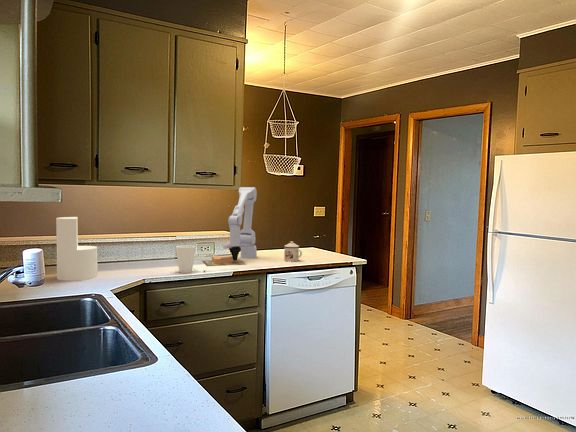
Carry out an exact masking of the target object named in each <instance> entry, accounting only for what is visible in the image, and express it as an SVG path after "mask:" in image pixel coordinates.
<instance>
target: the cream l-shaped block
mask: <svg viewBox="0 0 576 432" xmlns="http://www.w3.org/2000/svg"><path fill="white" fill-rule="evenodd" d="M78 219H79V218H78V216H62V217H61V216H60V217H56V219H55V220H56V221H55V223H56V225H55V227H56V229H55V230H56V238H55V239H56V279H57V280H59V281H63V282H64V281H66V282H67V281H69V282H70V281H71V282H72V281H74V282H75V281H85V280H92V279H96V278H97V277H98V274H99V273H98V271H99V270H98V246H96V245H79V232H78V231H79V229H78V226H79V225H78V224H79V223H78V221H79V220H78Z"/></svg>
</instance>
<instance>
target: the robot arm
mask: <svg viewBox="0 0 576 432" xmlns="http://www.w3.org/2000/svg"><path fill="white" fill-rule="evenodd" d="M257 191H258V190H257V188H256V187H255V186H252V187H251V186H250V187H249V186H246V187H245V186H244V187H243V186H240V187H239V188H238V196H239V197H238V202H237V205H235V206H234V209H233V210H232V213H231V215H230V216H228V219H227V223H228V228H229V244H223V249H226V250H227V249H228V250H229V252H230V254H231V255H230V256H231V257H232V259H233V260H234V261H236V260H237V259H238V257H239V254H240V259H245V260H248V259H257V252H258V251H257V246H256V232H255V230H253V229H252V227H253V226H252V225H253V224H252V223H253V215H254V203H255V202H256V201H257V195H258V192H257ZM243 215H244V217H243ZM242 223H243V227H242V228H241V225H242Z"/></svg>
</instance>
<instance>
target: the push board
mask: <svg viewBox="0 0 576 432" xmlns="http://www.w3.org/2000/svg"><path fill="white" fill-rule="evenodd" d="M201 262H202V263H203V264H204V265H205V266H206V267H221V266H222V267H223V266H245V265H246V266H247V263H245V262H243V261H242V260H241V259H239V258H237V260H236V261H234V260H233V258H232V263H221V264H214V263H213V262H212V259H211V260H210V259H209V260H201Z"/></svg>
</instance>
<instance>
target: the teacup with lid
mask: <svg viewBox="0 0 576 432" xmlns="http://www.w3.org/2000/svg"><path fill="white" fill-rule="evenodd" d="M283 247H284V255H283V256H284V258H283V259H284V262H288V261H296V262H299V261H300V260H299V259H300V258H301V257H302V255H303V251H302V250H301V249H300V245H298V244H296V243H294V241H289V242H288V243H287V244H285V245H284V246H283Z"/></svg>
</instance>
